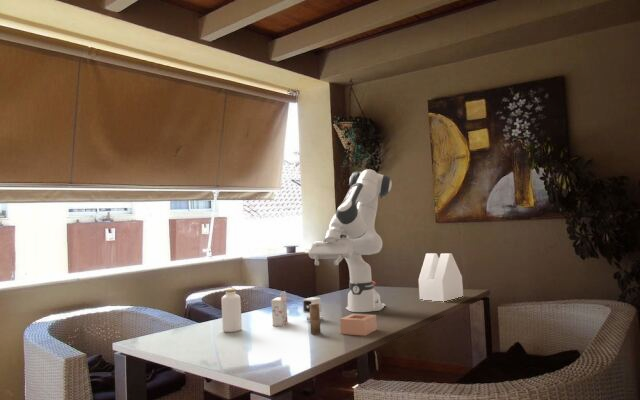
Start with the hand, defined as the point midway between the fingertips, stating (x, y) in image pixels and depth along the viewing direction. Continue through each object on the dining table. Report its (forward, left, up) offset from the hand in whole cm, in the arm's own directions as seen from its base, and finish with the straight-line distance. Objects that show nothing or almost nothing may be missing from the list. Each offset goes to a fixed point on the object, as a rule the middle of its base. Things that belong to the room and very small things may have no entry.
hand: (325, 264), depth 215 cm
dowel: (+12, +1, -27) cm, 30 cm away
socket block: (+4, +17, -27) cm, 32 cm away
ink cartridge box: (+1, -25, -27) cm, 37 cm away
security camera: (-12, -15, -27) cm, 33 cm away
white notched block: (-82, +25, -27) cm, 90 cm away
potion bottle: (+19, -38, -27) cm, 51 cm away
